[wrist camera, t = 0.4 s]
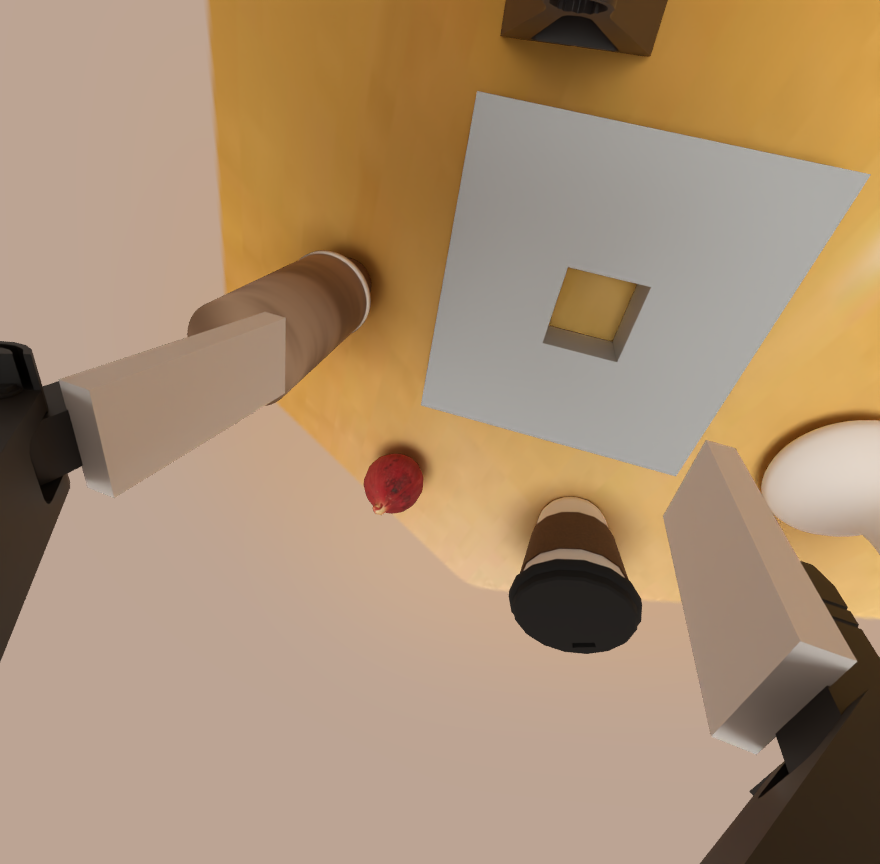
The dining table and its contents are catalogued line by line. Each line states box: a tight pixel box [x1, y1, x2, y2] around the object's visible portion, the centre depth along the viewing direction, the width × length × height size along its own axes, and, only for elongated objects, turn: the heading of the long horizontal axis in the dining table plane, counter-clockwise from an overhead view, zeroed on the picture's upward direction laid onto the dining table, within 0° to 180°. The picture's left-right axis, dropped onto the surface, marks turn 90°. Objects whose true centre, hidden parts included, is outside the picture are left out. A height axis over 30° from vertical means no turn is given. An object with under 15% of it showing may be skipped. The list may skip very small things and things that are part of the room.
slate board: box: [421, 91, 870, 476], centre depth 33 cm, size 22×22×4 cm
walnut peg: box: [187, 250, 371, 406], centre depth 32 cm, size 7×7×16 cm
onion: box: [364, 454, 423, 515], centre depth 45 cm, size 6×6×8 cm
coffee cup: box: [509, 497, 642, 654], centre depth 42 cm, size 11×11×12 cm
